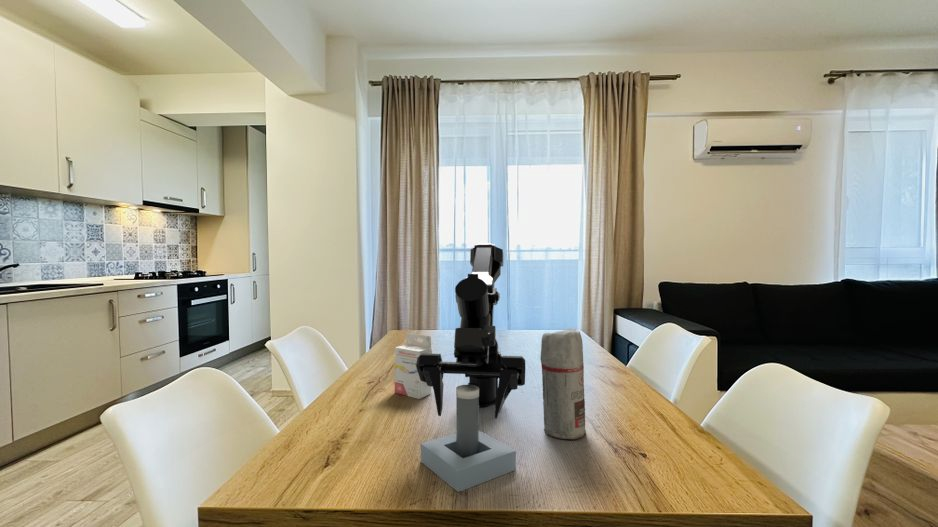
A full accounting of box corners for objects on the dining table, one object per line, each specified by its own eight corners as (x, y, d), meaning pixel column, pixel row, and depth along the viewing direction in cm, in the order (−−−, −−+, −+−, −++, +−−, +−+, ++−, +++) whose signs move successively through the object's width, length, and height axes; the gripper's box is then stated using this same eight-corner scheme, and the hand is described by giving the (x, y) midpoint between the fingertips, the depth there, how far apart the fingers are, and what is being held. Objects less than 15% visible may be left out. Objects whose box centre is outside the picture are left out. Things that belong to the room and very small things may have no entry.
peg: (464, 458, 68) (464, 383, 68) (483, 464, 66) (483, 387, 66) (451, 467, 65) (451, 388, 65) (470, 473, 63) (470, 393, 63)
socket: (474, 444, 73) (474, 427, 73) (515, 469, 64) (515, 450, 64) (420, 461, 66) (420, 443, 66) (458, 492, 57) (458, 471, 57)
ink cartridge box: (393, 393, 102) (393, 335, 102) (406, 388, 106) (406, 332, 106) (419, 399, 97) (420, 338, 98) (432, 394, 102) (432, 335, 102)
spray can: (560, 444, 73) (561, 334, 73) (533, 428, 80) (533, 327, 80) (595, 435, 77) (595, 330, 77) (566, 421, 84) (566, 325, 84)
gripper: (418, 307, 71) (400, 389, 60) (525, 309, 69) (527, 394, 58) (428, 343, 79) (413, 422, 68) (524, 346, 77) (525, 427, 66)
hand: (467, 416), depth 65 cm, fingers open, 9 cm apart
